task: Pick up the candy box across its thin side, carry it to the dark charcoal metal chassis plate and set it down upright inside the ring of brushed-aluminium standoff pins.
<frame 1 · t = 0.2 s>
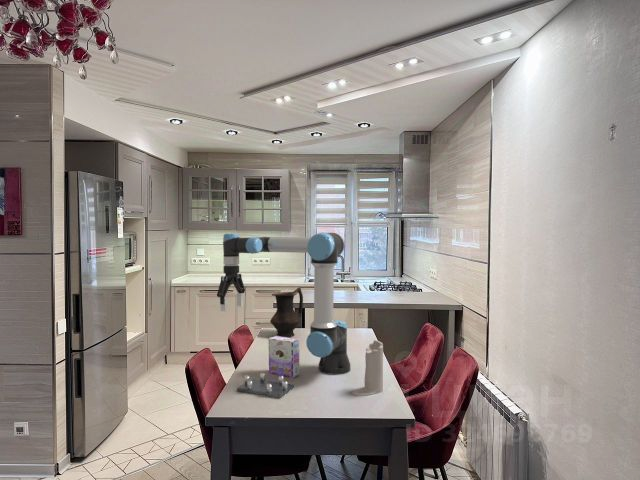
hand: (231, 308, 206), 28 cm above the table, fingers open, 13 cm apart
candy box: (284, 374, 194), on the table
chassis: (265, 389, 175), on the table
jug: (287, 336, 264), on the table
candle: (367, 391, 173), on the table
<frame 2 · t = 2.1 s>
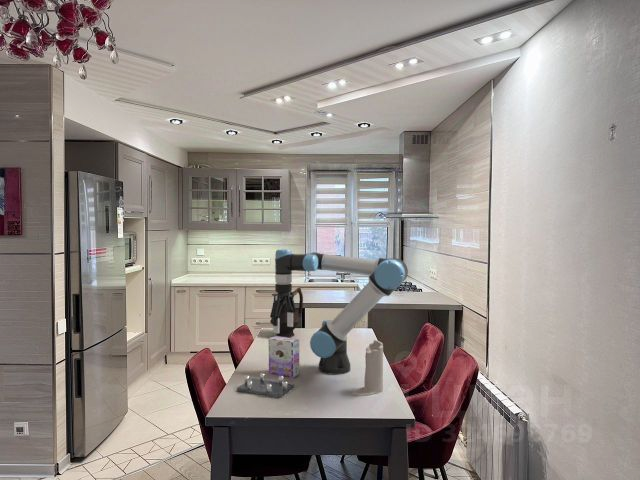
hand: (283, 329, 194), 20 cm above the table, fingers open, 13 cm apart
nothing on the table moved.
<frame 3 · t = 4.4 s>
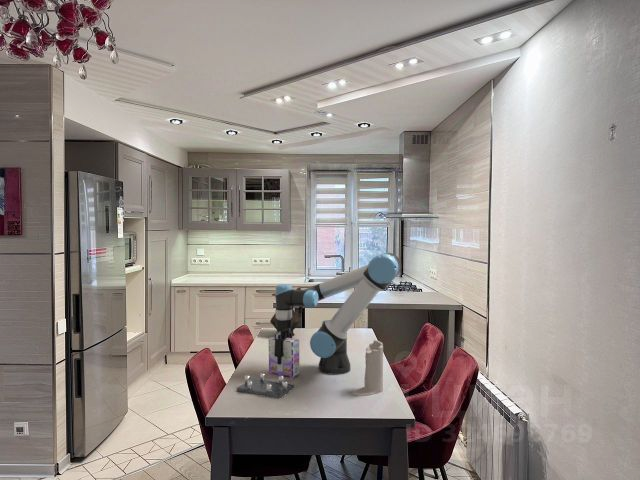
hand: (284, 368, 194), 2 cm above the table, fingers closed on candy box, 6 cm apart
candy box: (284, 374, 194), on the table, touching gripper
everything else where it was.
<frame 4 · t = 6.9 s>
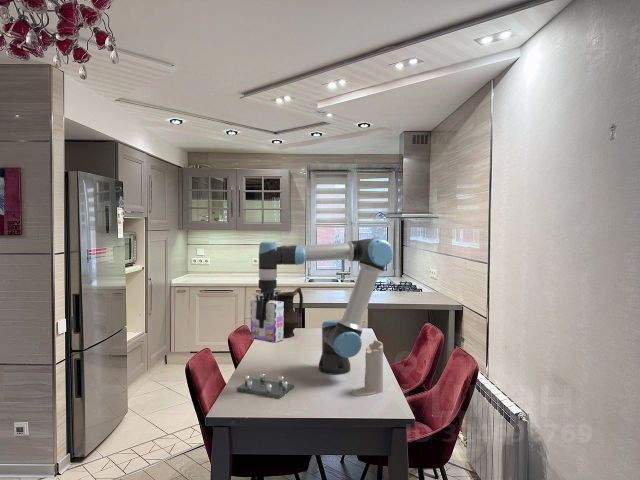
hand: (267, 333, 177), 22 cm above the table, fingers closed on candy box, 6 cm apart
candy box: (266, 340, 177), point 20 cm above the table, touching gripper
everything else where it was.
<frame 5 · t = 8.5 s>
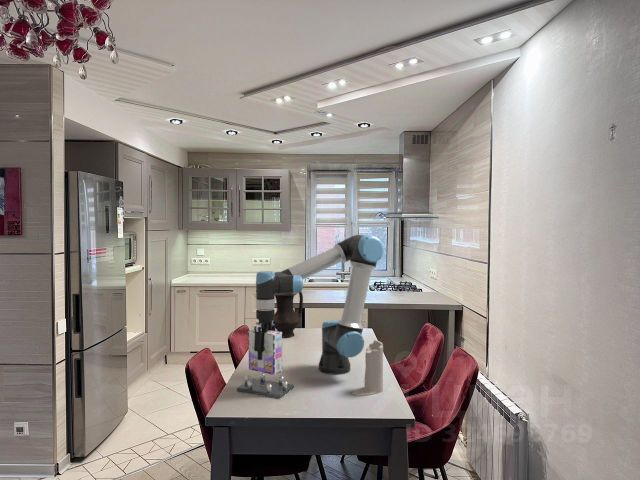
hand: (265, 364, 175), 10 cm above the table, fingers closed on candy box, 6 cm apart
candy box: (265, 371, 175), point 8 cm above the table, touching gripper
everything else where it was.
when the fingers open (5 cm above the table, at t = 9.7 s): candy box stays where it is, resting on chassis.
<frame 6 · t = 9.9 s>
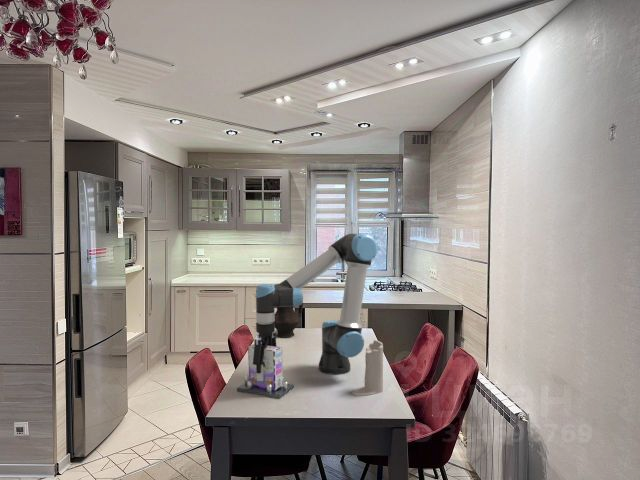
hand: (265, 376, 175), 5 cm above the table, fingers open, 8 cm apart
candy box: (265, 386, 175), point 1 cm above the table, touching chassis
everything else where it was.
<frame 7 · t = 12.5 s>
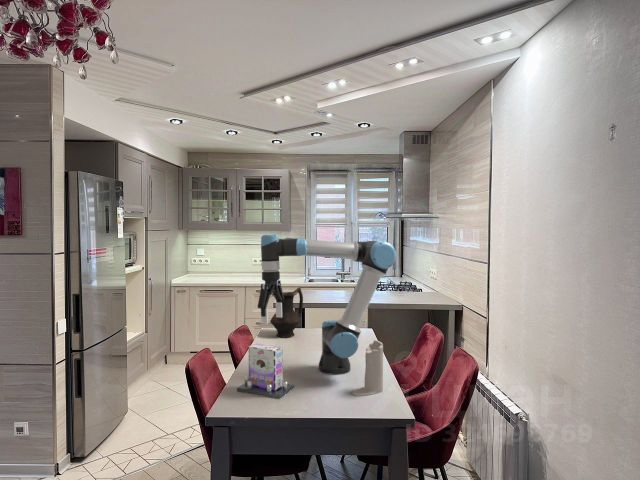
hand: (272, 320, 180), 27 cm above the table, fingers open, 13 cm apart
nothing on the table moved.
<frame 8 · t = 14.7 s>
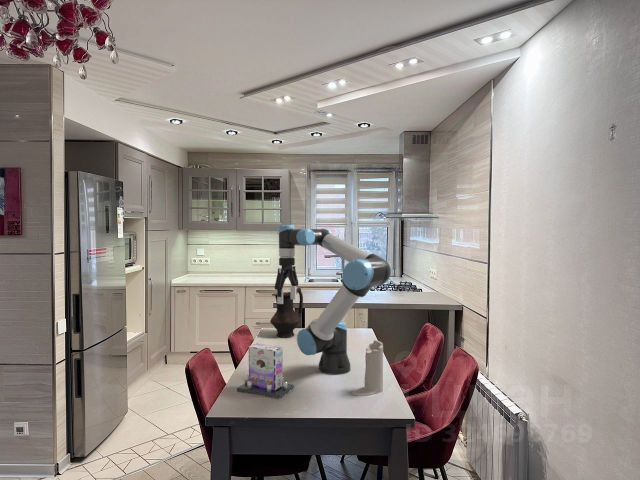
hand: (287, 301, 203), 32 cm above the table, fingers open, 13 cm apart
nothing on the table moved.
at the end: candy box 0.2 cm from the chassis (horizontally); candy box tilted 0°; the gripper is holding nothing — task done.
